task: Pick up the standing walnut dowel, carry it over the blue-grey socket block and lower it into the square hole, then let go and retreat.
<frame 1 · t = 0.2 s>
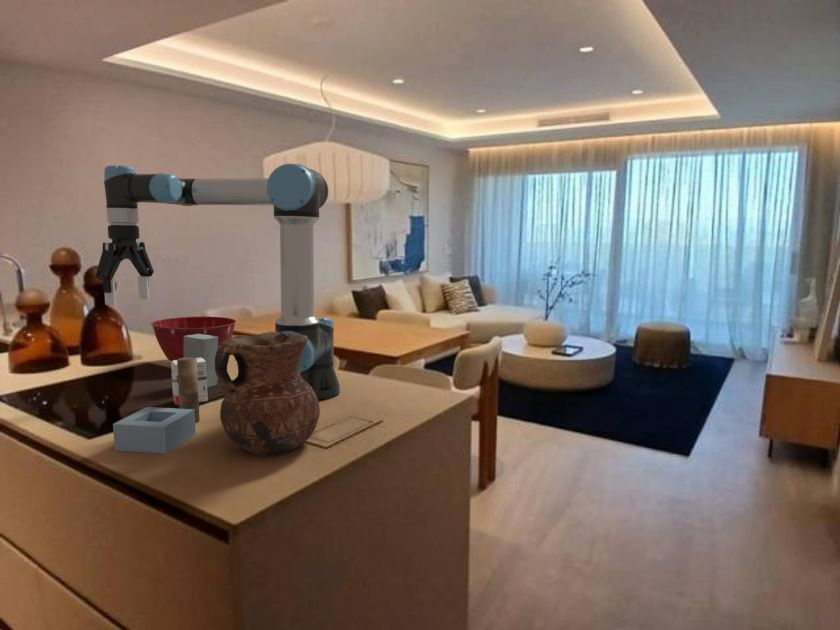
hand: (128, 302, 152), 28 cm above the countertop, fingers open, 13 cm apart
mixing bowl: (196, 363, 199), on the countertop
skincare box: (201, 386, 170), on the countertop
socket: (156, 441, 124), on the countertop
ink box: (190, 401, 154), on the countertop
peg: (190, 421, 138), on the countertop
jug: (271, 445, 123), on the countertop
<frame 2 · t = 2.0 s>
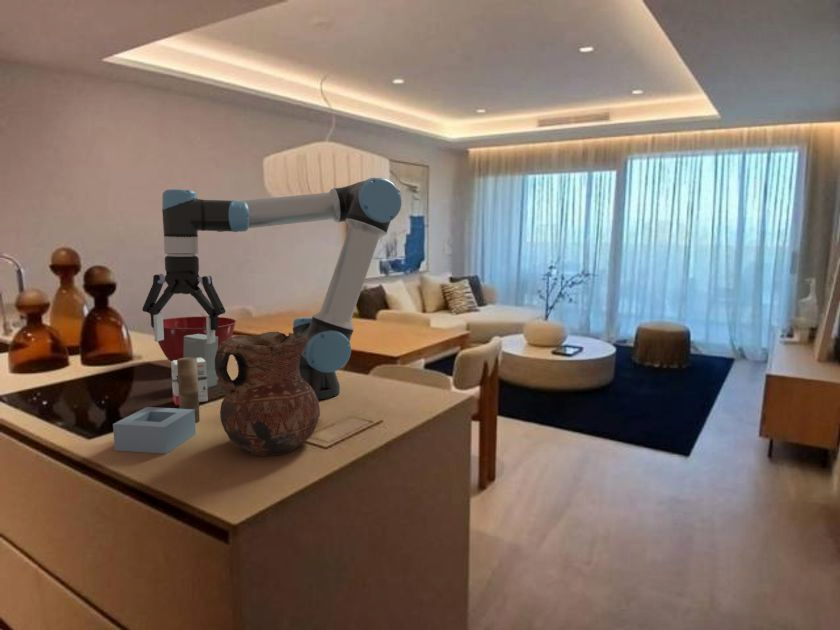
hand: (185, 341, 135), 20 cm above the countertop, fingers open, 13 cm apart
nothing on the countertop moved.
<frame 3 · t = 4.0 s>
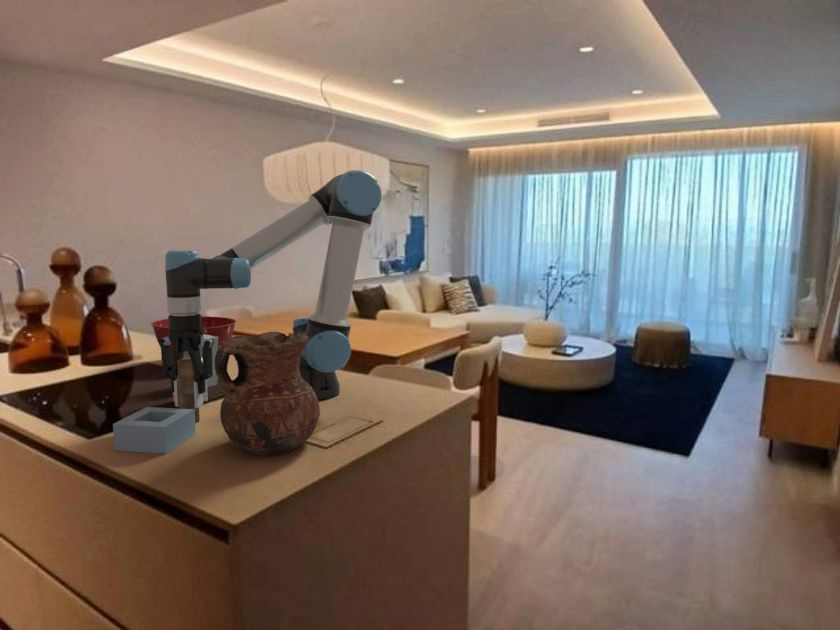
hand: (189, 405, 137), 4 cm above the countertop, fingers closed on peg, 4 cm apart
peg: (190, 421, 138), on the countertop, touching gripper
everything else where it was.
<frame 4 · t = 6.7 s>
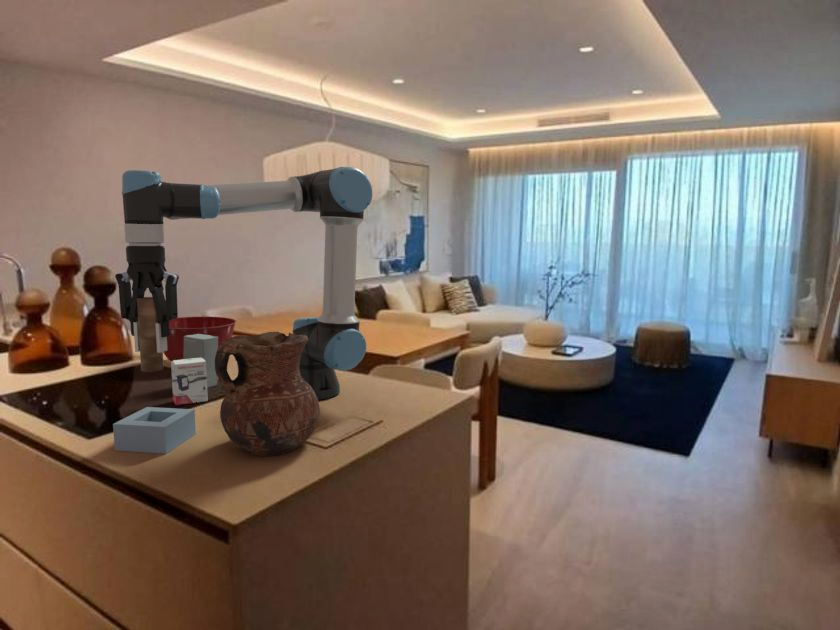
hand: (151, 350, 121), 21 cm above the countertop, fingers closed on peg, 4 cm apart
peg: (152, 369, 122), point 17 cm above the countertop, touching gripper
everything else where it was.
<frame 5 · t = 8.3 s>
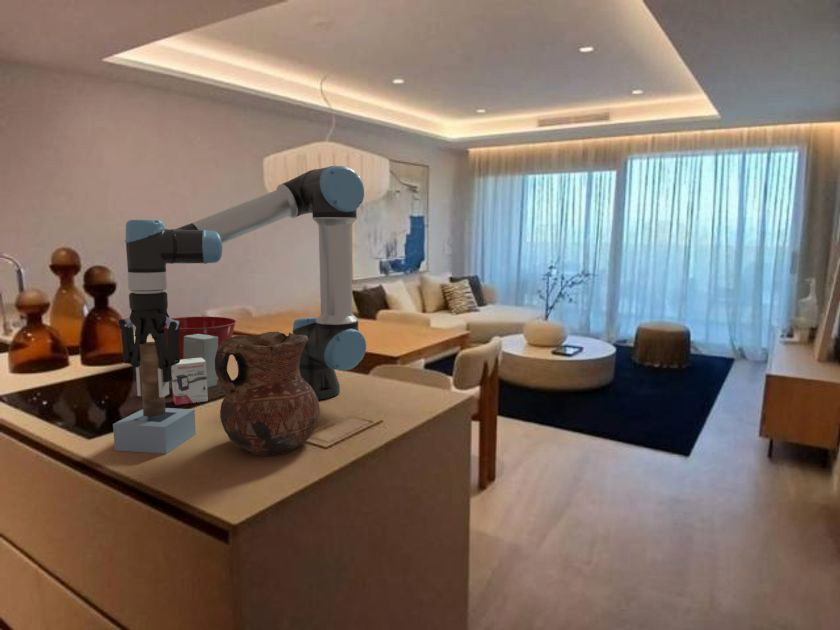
hand: (153, 394, 122), 11 cm above the countertop, fingers closed on peg, 4 cm apart
peg: (154, 413, 123), point 7 cm above the countertop, touching gripper
everything else where it was.
when the fingers open (7 cm above the countertop, at t = 9.4 s): peg drops 3 cm, resting in socket.
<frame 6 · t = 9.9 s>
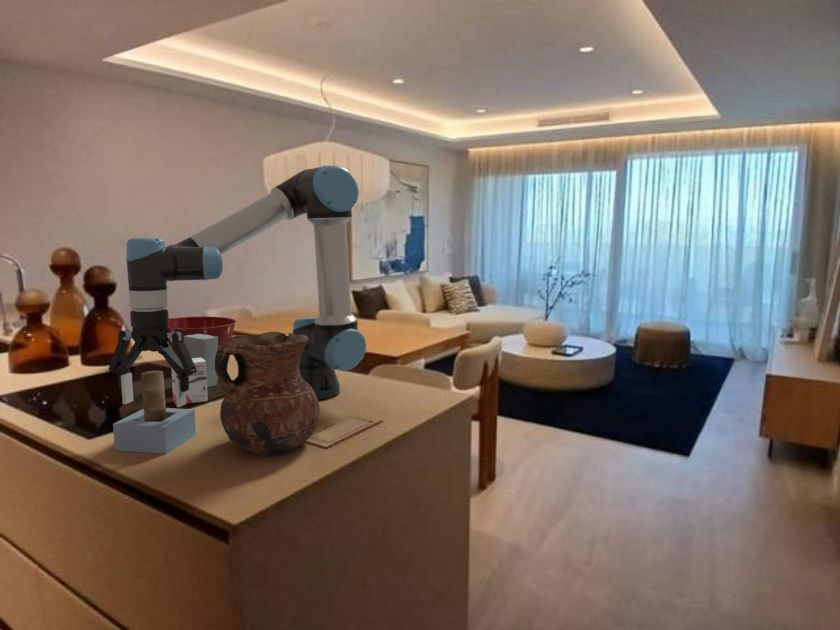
hand: (154, 403, 123), 9 cm above the countertop, fingers open, 12 cm apart
peg: (157, 441, 124), resting in socket
everything else where it was.
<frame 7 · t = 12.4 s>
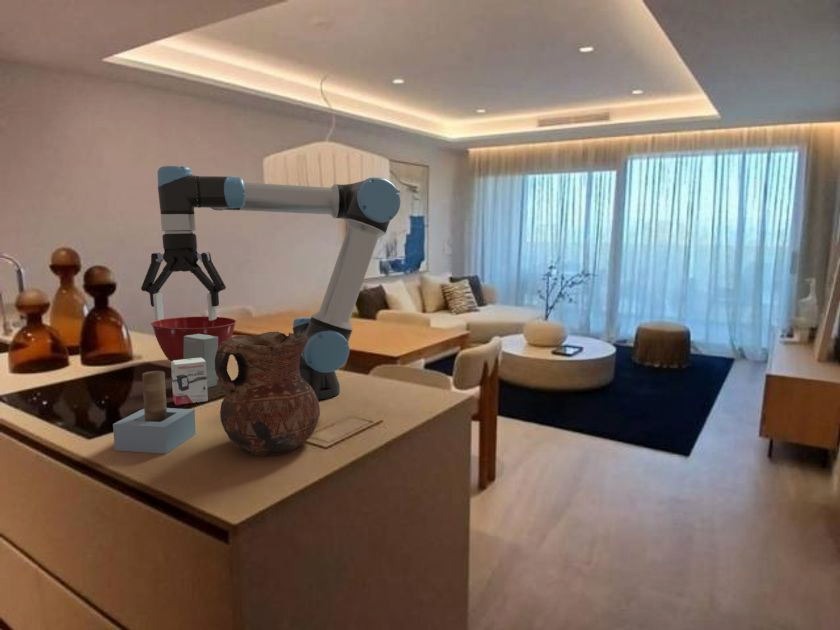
hand: (186, 319, 135), 26 cm above the countertop, fingers open, 13 cm apart
nothing on the countertop moved.
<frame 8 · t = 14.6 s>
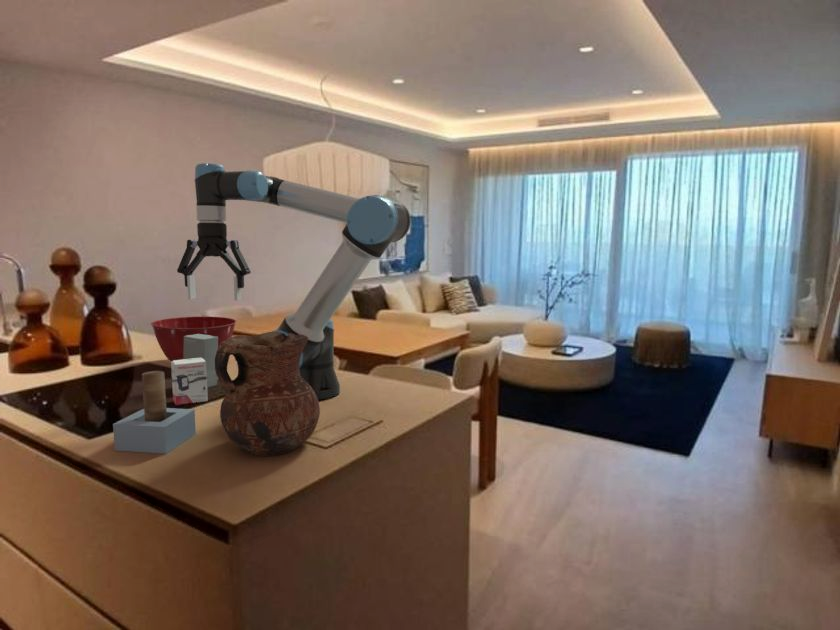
hand: (214, 299, 153), 29 cm above the countertop, fingers open, 13 cm apart
nothing on the countertop moved.
at the end: peg 0.1 cm off-centre on the socket, point 0.0 cm above the socket's base; peg tilted 0°; the gripper is holding nothing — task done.
